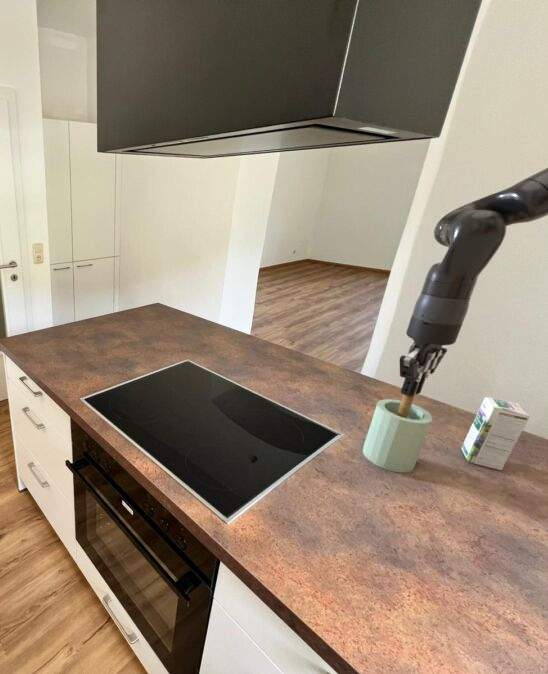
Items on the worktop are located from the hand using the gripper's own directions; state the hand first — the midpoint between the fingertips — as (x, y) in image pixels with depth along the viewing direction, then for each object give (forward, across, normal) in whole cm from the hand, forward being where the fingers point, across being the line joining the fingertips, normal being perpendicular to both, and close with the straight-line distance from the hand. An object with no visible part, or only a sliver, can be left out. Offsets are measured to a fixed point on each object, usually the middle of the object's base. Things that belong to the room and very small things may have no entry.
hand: (410, 393), depth 77 cm
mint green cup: (+17, 0, 0) cm, 17 cm away
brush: (+10, 0, 0) cm, 10 cm away
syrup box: (+17, -18, +10) cm, 27 cm away
